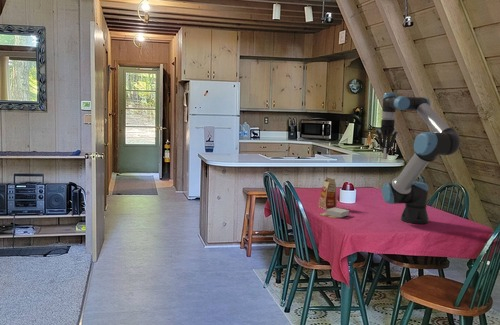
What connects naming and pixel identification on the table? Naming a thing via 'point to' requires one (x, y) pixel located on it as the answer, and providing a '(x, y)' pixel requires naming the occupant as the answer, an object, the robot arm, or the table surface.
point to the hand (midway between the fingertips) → (385, 158)
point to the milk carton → (328, 194)
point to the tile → (337, 212)
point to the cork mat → (328, 215)
